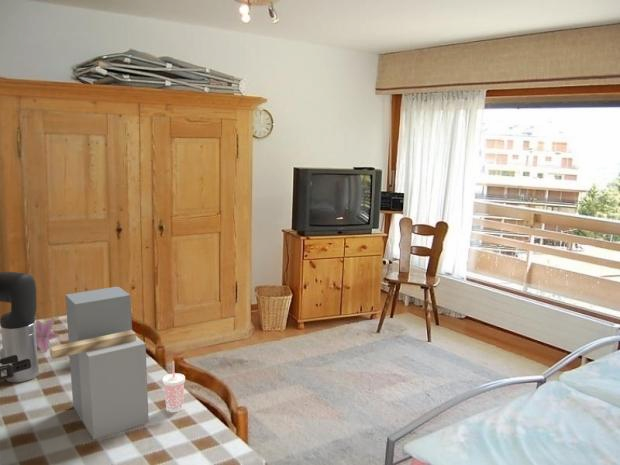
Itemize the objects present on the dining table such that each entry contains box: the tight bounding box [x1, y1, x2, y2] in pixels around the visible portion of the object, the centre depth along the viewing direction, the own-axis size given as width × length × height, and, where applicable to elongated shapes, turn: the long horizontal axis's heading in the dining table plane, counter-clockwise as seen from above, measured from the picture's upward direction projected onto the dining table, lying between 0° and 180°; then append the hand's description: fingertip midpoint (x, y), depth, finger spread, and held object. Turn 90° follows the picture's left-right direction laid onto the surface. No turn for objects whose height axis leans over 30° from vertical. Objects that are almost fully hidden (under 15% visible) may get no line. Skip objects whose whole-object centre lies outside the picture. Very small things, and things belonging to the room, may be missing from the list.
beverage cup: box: [162, 360, 186, 413], centre depth 147 cm, size 6×6×14 cm
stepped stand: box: [65, 286, 150, 440], centre depth 141 cm, size 14×20×32 cm
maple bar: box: [49, 329, 137, 360], centre depth 133 cm, size 20×3×2 cm, turn 128°
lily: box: [35, 318, 60, 353], centre depth 188 cm, size 12×12×10 cm
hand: (23, 360), depth 125 cm, fingers open, 8 cm apart
